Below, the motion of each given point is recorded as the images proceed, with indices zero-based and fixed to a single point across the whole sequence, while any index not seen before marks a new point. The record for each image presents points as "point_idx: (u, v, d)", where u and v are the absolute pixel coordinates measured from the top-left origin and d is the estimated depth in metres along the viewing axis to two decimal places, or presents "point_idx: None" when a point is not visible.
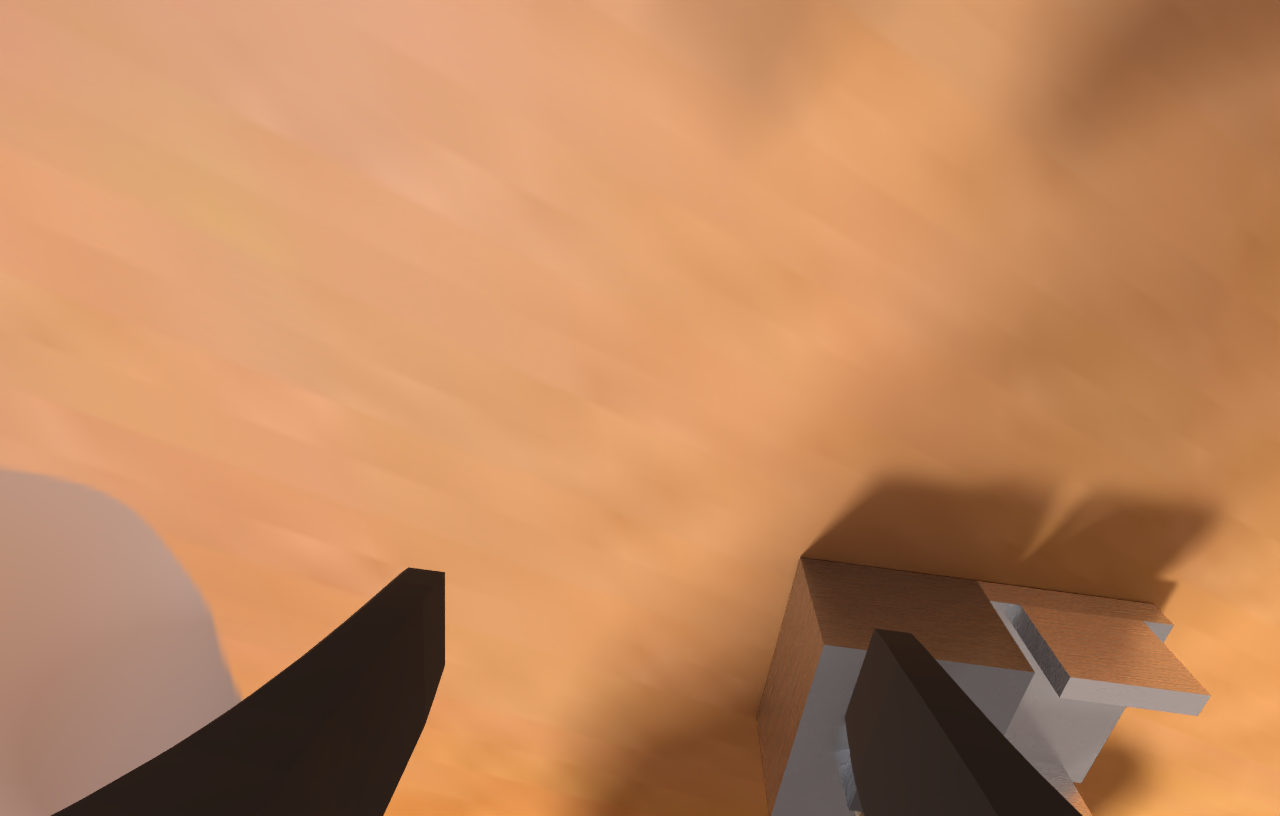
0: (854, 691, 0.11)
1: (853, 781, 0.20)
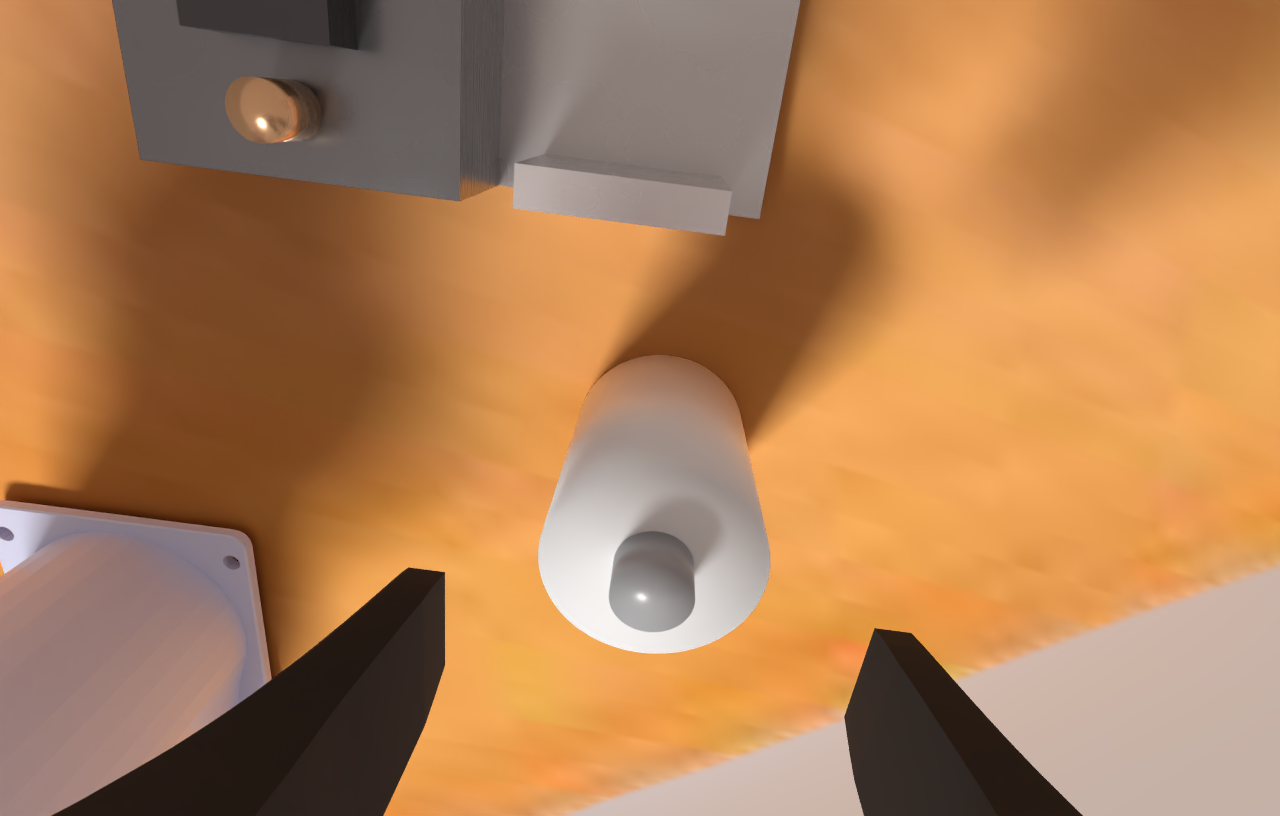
0: (854, 691, 0.11)
1: None
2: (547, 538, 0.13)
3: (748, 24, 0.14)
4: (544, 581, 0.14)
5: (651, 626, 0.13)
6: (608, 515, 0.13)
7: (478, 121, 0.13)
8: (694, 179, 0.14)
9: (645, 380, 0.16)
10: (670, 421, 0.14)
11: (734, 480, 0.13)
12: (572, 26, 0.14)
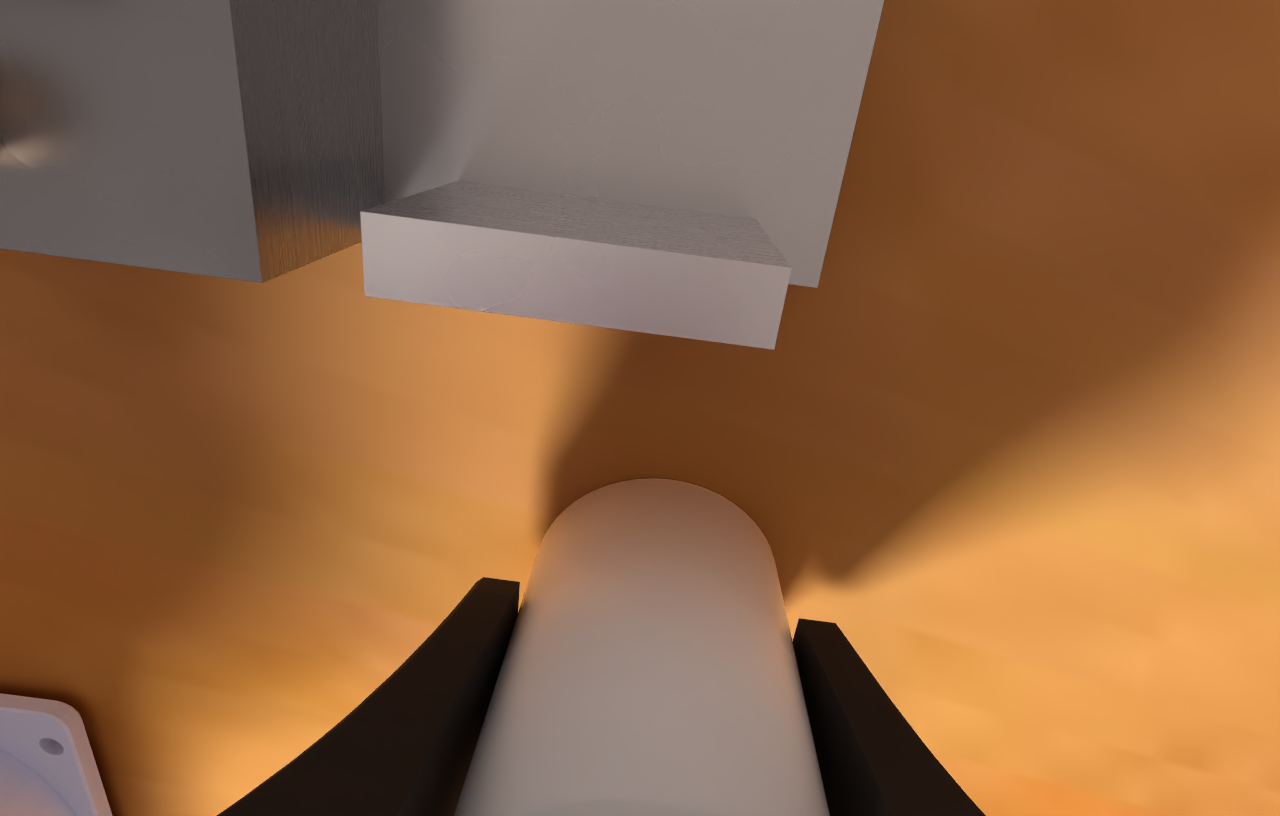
0: None
1: None
2: None
3: None
4: None
5: None
6: None
7: (312, 127, 0.07)
8: (712, 232, 0.07)
9: (630, 538, 0.10)
10: (670, 655, 0.08)
11: (789, 801, 0.07)
12: None
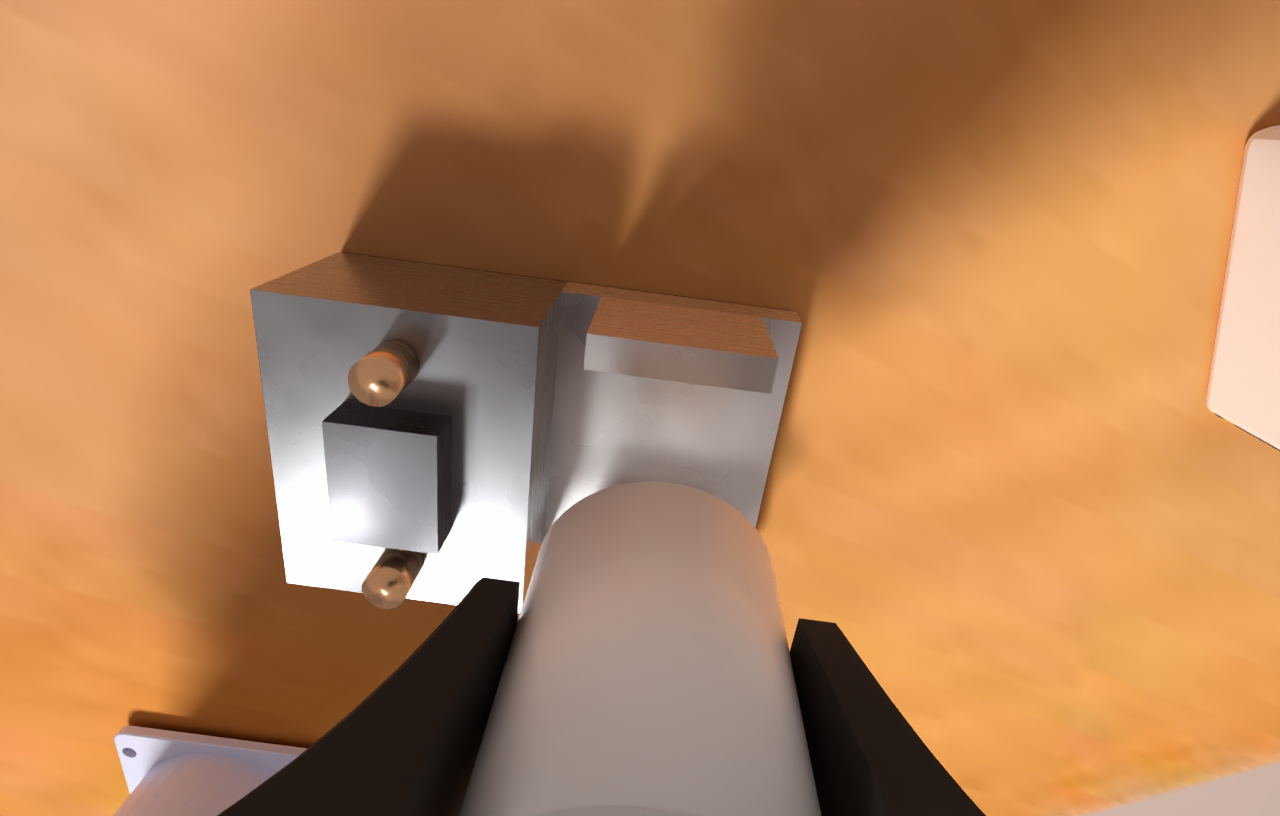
0: None
1: None
2: None
3: (736, 452, 0.18)
4: None
5: None
6: None
7: (534, 541, 0.17)
8: None
9: (625, 543, 0.10)
10: (661, 660, 0.08)
11: (777, 801, 0.07)
12: (603, 449, 0.18)
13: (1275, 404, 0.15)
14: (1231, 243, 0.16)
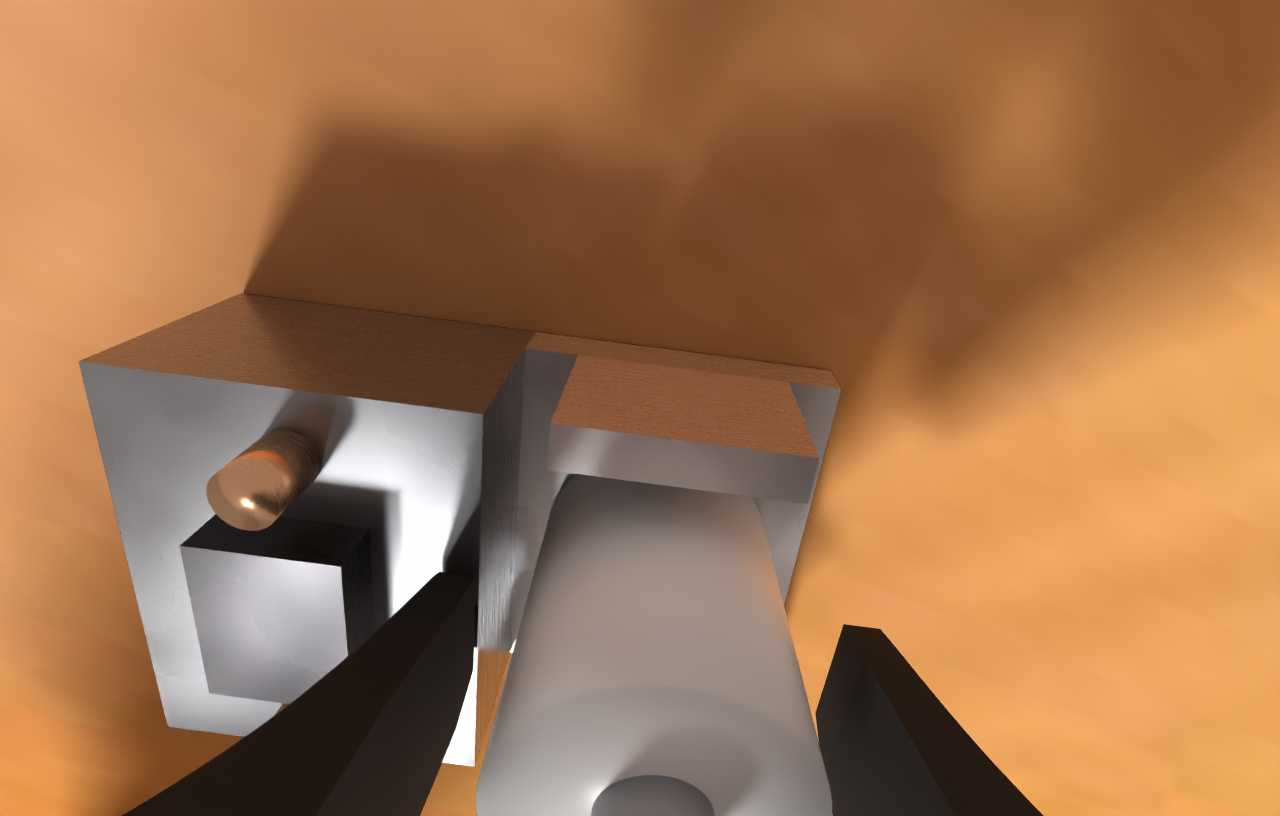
0: (824, 687, 0.11)
1: None
2: (488, 786, 0.08)
3: None
4: None
5: None
6: (579, 754, 0.08)
7: (492, 667, 0.13)
8: None
9: (632, 495, 0.12)
10: (671, 582, 0.09)
11: (774, 690, 0.08)
12: None
13: None
14: None
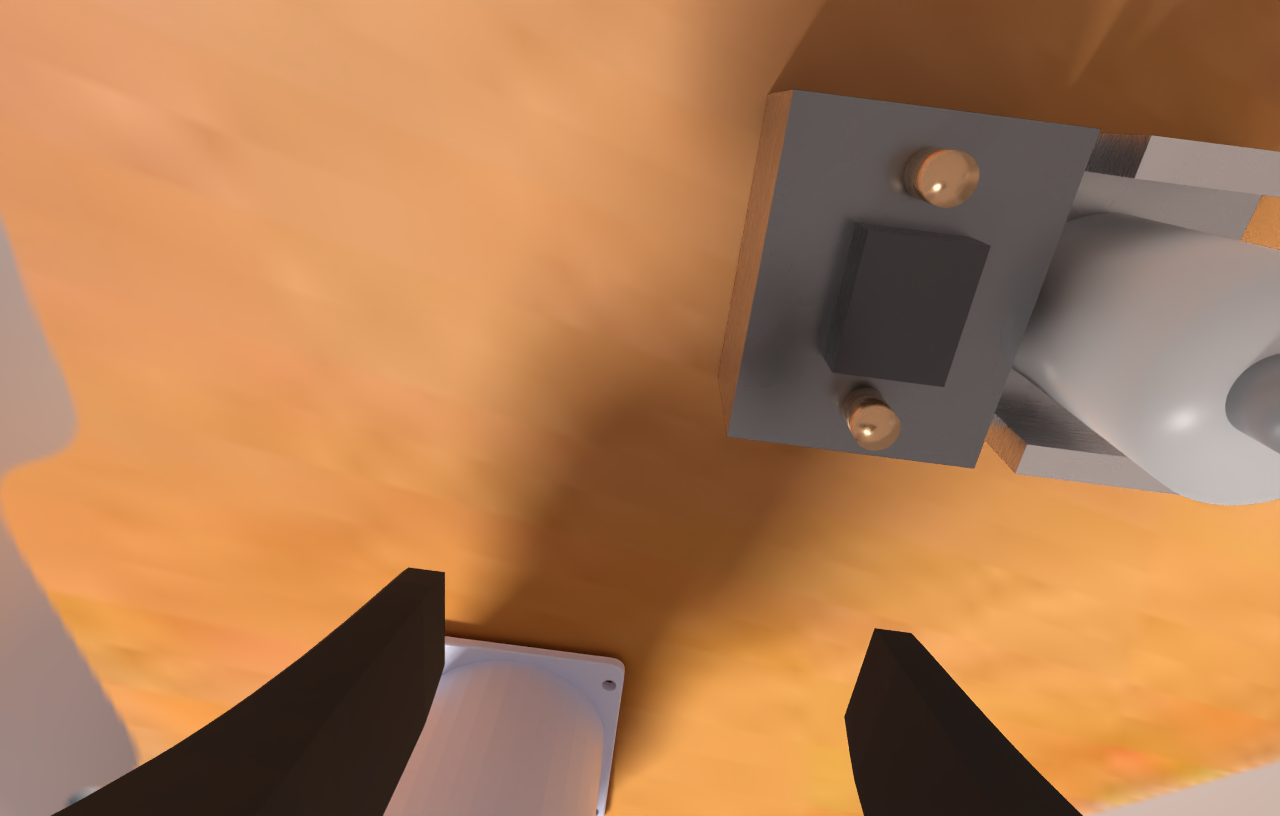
0: (854, 691, 0.11)
1: (838, 329, 0.14)
2: (1160, 366, 0.12)
3: None
4: (1132, 421, 0.12)
5: None
6: (1245, 333, 0.11)
7: None
8: None
9: (1140, 226, 0.15)
10: (1254, 244, 0.13)
11: None
12: None
13: None
14: None
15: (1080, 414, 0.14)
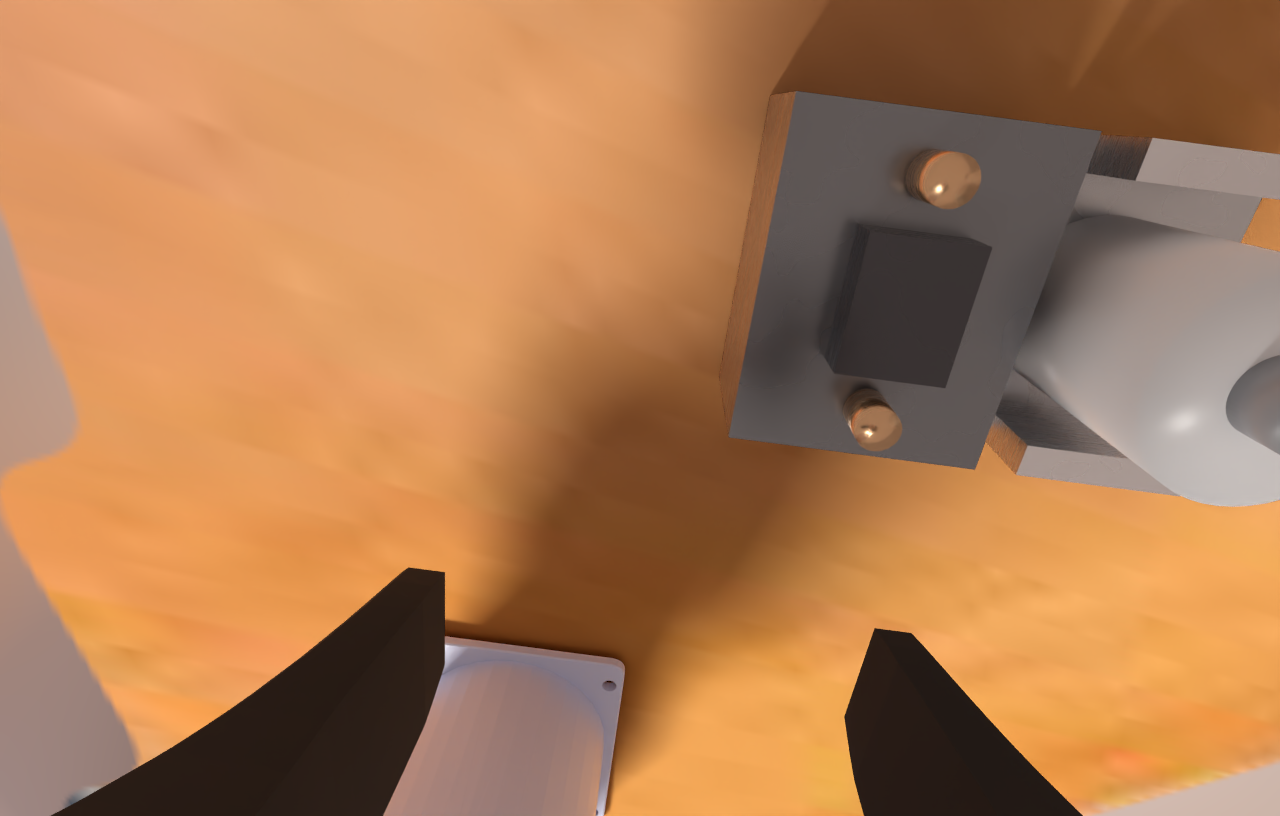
0: (854, 691, 0.11)
1: (840, 330, 0.14)
2: (1160, 367, 0.12)
3: None
4: (1133, 423, 0.12)
5: None
6: (1245, 334, 0.11)
7: None
8: None
9: (1140, 228, 0.15)
10: (1254, 246, 0.13)
11: None
12: None
13: None
14: None
15: (1081, 415, 0.15)
